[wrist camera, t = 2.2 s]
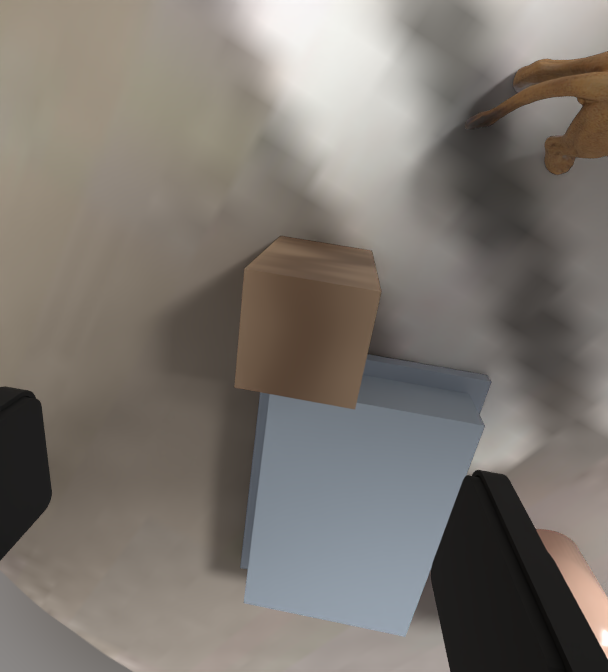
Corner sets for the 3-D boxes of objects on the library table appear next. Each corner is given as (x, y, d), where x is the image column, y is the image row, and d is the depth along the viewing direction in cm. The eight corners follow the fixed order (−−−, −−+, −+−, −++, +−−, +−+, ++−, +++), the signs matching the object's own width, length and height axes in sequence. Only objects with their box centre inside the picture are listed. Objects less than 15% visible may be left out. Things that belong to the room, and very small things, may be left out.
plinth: (487, 375, 24) (511, 412, 20) (409, 592, 31) (416, 649, 28) (268, 336, 24) (253, 366, 21) (242, 558, 32) (228, 609, 28)
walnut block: (371, 250, 22) (381, 291, 15) (354, 335, 24) (354, 409, 16) (280, 235, 22) (244, 268, 15) (270, 321, 24) (234, 387, 17)
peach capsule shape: (595, 538, 27) (669, 652, 21) (560, 598, 30) (618, 716, 23) (505, 521, 28) (550, 628, 21) (478, 581, 30) (512, 693, 24)
